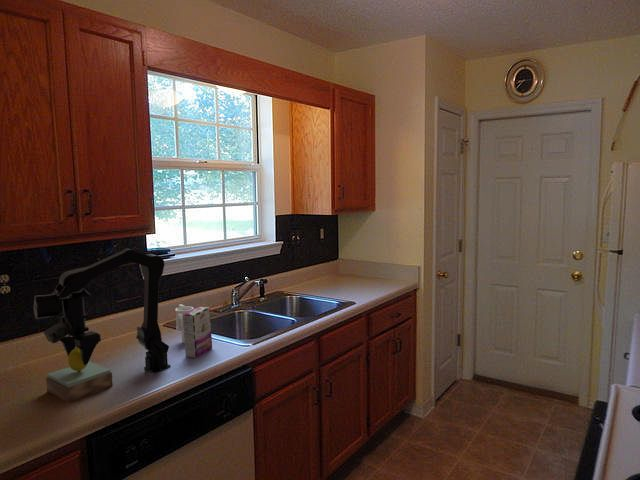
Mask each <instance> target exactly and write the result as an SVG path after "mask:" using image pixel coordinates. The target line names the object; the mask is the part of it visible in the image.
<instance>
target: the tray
mask: <svg viewBox="0 0 640 480" xmlns="http://www.w3.org/2000/svg"><path fill="white" fill-rule="evenodd" d="M112 373H113V372H112V371H110V373H109V374H106V375H103V376H100V377H97V378H94V379H91V380H89V381H86V382H83V383H80V384H77V385H74V386H71V387H69V388H68V387H66V386H64V385H62V384H60V383H58V382H56V381H54V380H52V379H50V378H48V377H46V378H45V384H46V392H47V393H48V394H50V395H52V396H54V397H56V398H58V399H59V400H61V401H63V402H65V403H67V404H69V403H71V402H74V401H77V400H79V399H82V398H85V397H87V396H89V395H93V394H96V393H98V392H101V391H103V390H106V389H108V388H112V387H114V385H113V384H114V383H113V374H112Z"/></svg>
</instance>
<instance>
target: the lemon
mask: <svg viewBox="0 0 640 480" xmlns="http://www.w3.org/2000/svg"><path fill="white" fill-rule="evenodd" d="M67 358H68V359H67V361H68V367H70V368H71V369H73V370H75V371H78V372H80V371H81V370H82V369H84V368H85V367H86V366H87V364H86V365H84V364H83V361H82V356H81V352H80V349H79V348H77V347H75V349H73V350H72V351H71V352H70V354H69V357H68V356H67Z"/></svg>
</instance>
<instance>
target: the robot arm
mask: <svg viewBox="0 0 640 480" xmlns="http://www.w3.org/2000/svg"><path fill="white" fill-rule="evenodd" d="M127 263H128V264H129V263H133V264H134V263H135V264H137V265H140V269H141V273H142V277H143V280H144V292H143V293H144V294H143V297H144V298H143V301H144V302H143V320H142V321H143V322H142V324H141V326H137V327H136V337H135V339H137V340H138V341H137V342H138V343H139V344H140V345H141V346H142V347H144V350H147V351H146V352H145V357H144V359H145V361H144V362H145V366H144V367H143V369H144V370H146V371H150V372H152V373H158V372H161V371H163V370H166V369H168V368H170V367H171V364H168V361H169V360H168V352H169V349H170V346H169V345H168V344H167V343H165V342H164V341H162V339H163V337H162V332H161V329H160V326H159V323H158V319H159V317H158V316H159V292H160V291H159V289H160V280H161V278H162V276H163V273H164V269H165V260H164V258H163V257H162V256H159V255H156V254H153V253H147V254H144V253H141V252H138V251H135V250H134V249H131V248H124V249H122V250H121V251H119V252H116V253H114V254H113V255H112V254H111V255H110V256H107V257H106V258H103V259H101V260H99V261H97V262H95V263H93V264H90V265H88V266H85V267H78V268H74V269H71V270H67V271H65V272H63V273H61V275H60V276H59V280H58V284H57V285H56V287H55V288H54V290H53V291H52V293H50V294H43V295H41V294H39V295H38V294H37V295H34V300H33V305H32V306H33V313H34V319H35V320H40V319H44V318H50V317H51V318H52V317H56V316H59V314H61V312H63V316H60V318H59V320H60V322H58V323H56V324H54V325H52V326H50V327H49V328H48V329H46V330H44V331H43V334H44V337H45V338H46V340H47V342H50V343H52V344H56V343H58V342H60V343H61V344H62V346H63V348H64V350H65V352H66V356H67V358H68V357H69V354H70V352H71V351H72V350H73V349H75V348H76V347H77V348H79V349H80V352H81V356H82V361H83V364H84V365H86V364H88V362H89V361H90V359H91V357H92V355H93V352H94V351H95V348H96V347H97V345H98V344H99V343H101V342H102V336H101V334H100V333H98V332H95V331H92V330H89V327H88V326H87V325H86V319H88V318H89V317H88V314H86V313H85V301H84V298H86V297H91V293H90V292H88V291H87V290H86V289H85V287H87V286H88V285H89V284H90V283H91V282H92V281H94V280H95V279H97V278H98V277H101V276H103V275H104V274H105V275H106V274H107V273H109V272H111V271H113V270H115V269H118V268H119V267H122V266H124V265H126V264H127ZM62 310H63V311H62Z"/></svg>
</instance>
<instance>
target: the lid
mask: <svg viewBox="0 0 640 480" xmlns="http://www.w3.org/2000/svg"><path fill="white" fill-rule="evenodd" d="M110 372H111V369H108V368H107V367H104V366H102V365H100V364H97V363H94V362H92V361H90V360H89V362H88V364H87V366H86V367H85V368H84V369H82V370H81V371H80V372H78V371H75V370H73V369H71V368H70V366H68V367H65V368H62V369H59V370H56V371H52V372H49V373H47V375H46V376H47V378H50V379H52V380H54V381H56V382H58V383H60V384H62V385H64V386H66V387H68V388H69V387H71V386H74V385H77V384H80V383H83V382H86V381H89V380H91V379H94V378H97V377H100V376H103V375H106V374H109V373H110Z"/></svg>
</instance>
